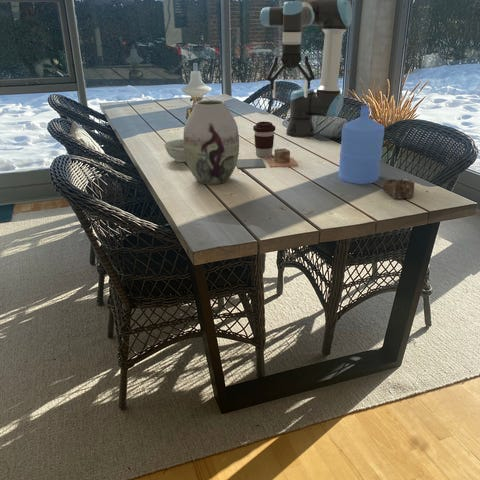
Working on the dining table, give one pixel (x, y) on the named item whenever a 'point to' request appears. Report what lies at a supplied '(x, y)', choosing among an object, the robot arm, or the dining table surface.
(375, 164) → the water jug
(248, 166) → the slate tile
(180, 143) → the bowl
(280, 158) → the walnut block
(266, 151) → the coffee cup
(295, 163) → the terracotta tile
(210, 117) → the vase
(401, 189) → the rock
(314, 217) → the dining table surface
